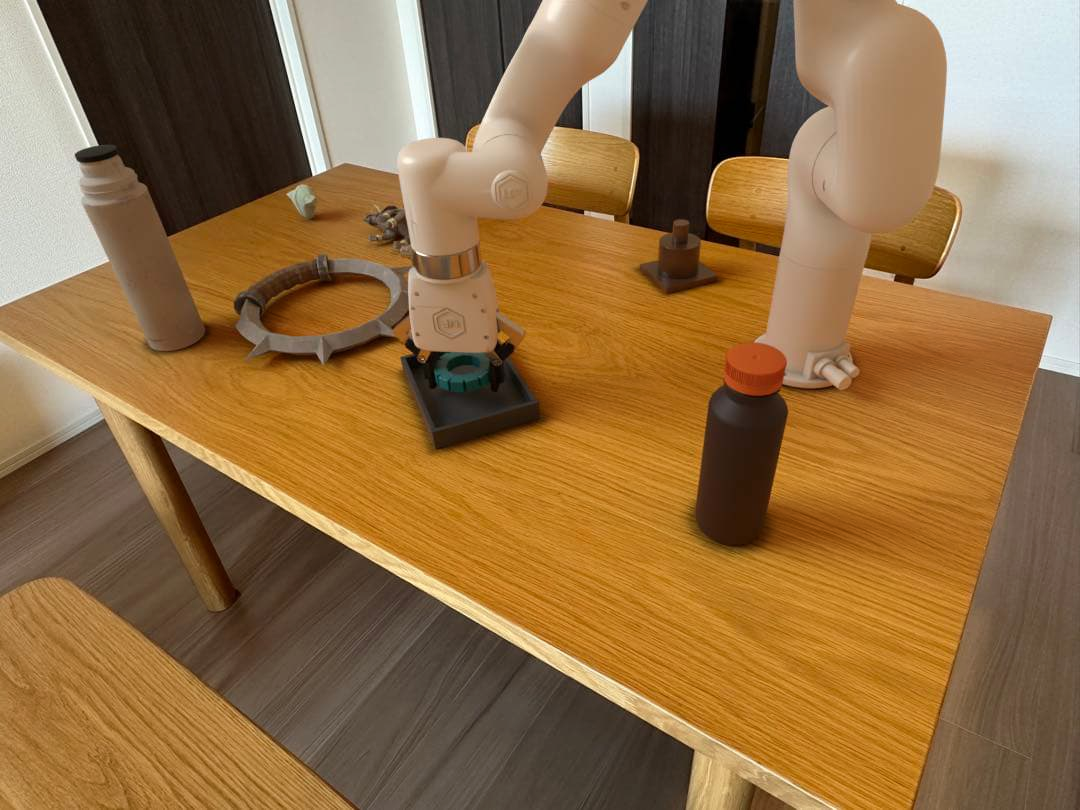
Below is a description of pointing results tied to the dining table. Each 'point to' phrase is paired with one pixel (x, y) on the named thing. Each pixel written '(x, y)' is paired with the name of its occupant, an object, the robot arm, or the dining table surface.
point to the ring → (462, 381)
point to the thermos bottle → (138, 249)
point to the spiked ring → (261, 292)
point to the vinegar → (742, 445)
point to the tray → (469, 404)
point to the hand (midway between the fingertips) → (466, 383)
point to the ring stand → (678, 261)
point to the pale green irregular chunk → (304, 200)
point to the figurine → (389, 224)
